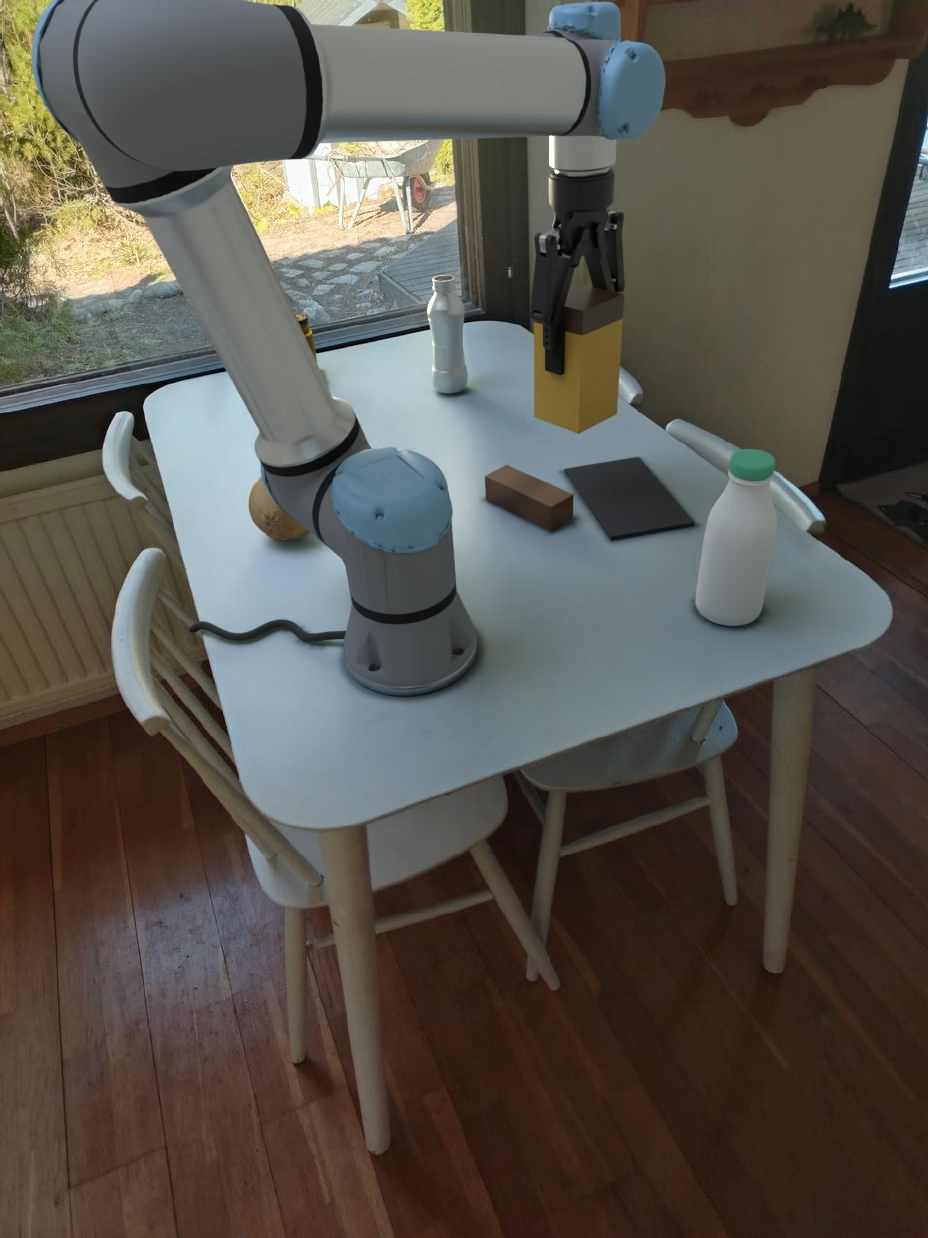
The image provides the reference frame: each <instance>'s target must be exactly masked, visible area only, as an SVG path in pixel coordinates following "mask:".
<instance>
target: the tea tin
mask: <svg viewBox="0 0 928 1238" xmlns="http://www.w3.org/2000/svg"><path fill="white" fill-rule="evenodd" d="M624 306H625V294H624V293H619V292H618V293H617V292H613V291H609V290H605V289H601V288H596V287H593V286H591V285H587V284H584V283H579V282H573V283H571V284H570V288H569V291H568V295H567V299H566V302H565V306H564V310H563V314H562V317H561V321H560V322H564V323H565V370H564V374H563V375H558V374H555V373H552V372H548V371H545V348H544V347H543V325H542V323H541V322H538V321H534V320H533V417H534V418H535V419H538V420H540V421H543V422H546V423H548V424H551V425H554V426H556V427H559V428H561V429H565V430H568V432H569V431H570V432H572V433H575V434H578V435H579V434H581V433H583V432H585V431H587V430H589V429H591V428H593V427H595V426H597V425H598V424H601V423H603V422H605V421H607V420H609V419H610V418H612V417H615V416H616V415H618V404H619V402H618V401H619V390H620V389H619V388H620V373H621V372H620V371H621V356H622V355H621V354H622V341H623V340H622V339H623V327H624V325H623V324H624V308H625V307H624ZM552 313H553V310H552Z"/></svg>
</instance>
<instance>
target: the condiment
mask: <svg viewBox="0 0 928 1238" xmlns="http://www.w3.org/2000/svg"><path fill="white" fill-rule="evenodd" d="M294 314H295V316H296V318H297V320H298V323H299V325H300V327H301V329H302V331H303V334H304V336H305V338H306V340H307V342H308V345H309V347H310V349H311V351H312V353H313V356H314V358H315V360H316V362H317V363H318V360H317V352H316V347H315V341H314V333H313V330H311V328H310V323H309V318H308V316H307V315H306V314H305V313H304V314H303V313H294ZM320 371H321V372H322V370H321V369H320Z"/></svg>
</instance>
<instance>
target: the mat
mask: <svg viewBox="0 0 928 1238" xmlns="http://www.w3.org/2000/svg"><path fill="white" fill-rule="evenodd" d="M563 470H564V472H563V473H564V474H565V475H566V477H567V478H568V480H569V481H570V483H571V484H572V486H573V487H574V489H575V490H576V492H577V493H578V494H579V496H580V498H581V499H582V501H583V502H584V503H585V505H586V506H587V508H588V509H589V511H590V512H591V514H592V515H593V517H594V518H595V520H596V521H597V523H598V524H599V525H600V527H601V528H602V530H603V532H604V533H605V534H606V536H607V537H608V539H609V541H616V540H621V539H626V538H632V537H633V538H634V537H637V536H643V535H649V534H654V533H660V532H661V533H662V532H666V531H671V530H676V529H684V528H688V527H694V526H695V521H694V519H692V518H691V517H690V515H689V514H688V513H687V512H686V510H685V509H684V508H683V507H682V506H681V505H680V503H679V502H678V501H677V500H676V499H675V498H674V496H673V495H672V494H671V493H670V492H669V491H668V489H667V488H666V487H665V486H664V484H662V482H661V481H660V480H659V479H658V477H657V476H655V474H654V473H653V472H652V471H651V470H650V468H649V467H648V466H647V464H645V463H644V461H643V460H642V459H641V458H640V456H635V457H629V458H622V459H617V460H616V459H615V460H610V461H605V462H598V463H597V462H596V463H592V464H586V465H579V466H573V467H568V468H567V467H566V468H564V469H563Z"/></svg>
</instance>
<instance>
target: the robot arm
mask: <svg viewBox="0 0 928 1238" xmlns="http://www.w3.org/2000/svg"><path fill="white" fill-rule="evenodd" d="M621 18H622V17H621V11H620V8H619V7H618V6H617V4H616V3H615V2H611V1H588V2H587V1H586V2H585V1H584V2H573V3H563V4H560V5H556V6H554V7H552V9H551V10H550V11H549V18H548V19H549V21H548V27H547V30H546V31H544V32H540V33H533V34H523V35H520V34H519V35H518V34H500V33H482V32H465V31H449V30H448V31H446V30H429V29H428V30H427V29H411V28H409V29H408V28H390V27H373V26H355V25H337V24H318V23H311V21H310V20H309V18H308V17H307V15H305V14H304V12H302V11H301V9H299V8H298V7H296V6H293V5H289V4H288V5H287V4H272V3H263V2H255V1H251V0H52V1H51V2H50V3H49V4H48V5H47V7H46V8H45V9H44V11H42V14H41V15H40V17H39V19H38V21H37V24H36V26H35V30H34V32H33V37H32V38H33V39H32V44H31V68H32V73H33V78H34V83H35V86H36V89H37V91H38V94H39V96H40V98H41V100H42V102H43V104H44V106H45V108H46V109H47V111H48V113H49V115H51V117H52V119H53V120H54V121H55V122H56V123H57V124H58V125H59V127H60V129H61V130H63V131H64V132H65V133H66V134H67V135H68V136H69V137H70V138H71V139H73V140H74V141H75V142H77V143H78V144H80V145H81V148H82V149H83V151H84V153H85V155H86V156H87V159H88V160H89V162H90V163H91V166H92V167H93V169H94V171H95V172H96V174H97V176H98V178H99V180H100V181H101V183H102V185H103V186H104V188H105V191H106V192H107V193H108V194H109V197H110V198H111V200H112V202H113V204H114V205H115V206H117V207H120V208H122V209H125V210H127V211H129V212H132V213H134V214H135V213H136V214H138V216H140V217H142V219H143V222H144V223H145V225H146V228H147V229H148V230H149V232H150V234H151V236H152V238H153V240H154V241H155V243H156V246H157V247H158V249H159V250H160V252H161V254H162V256H163V258H164V260H165V261H166V264H167V265H168V267H169V269H170V270H171V273H172V274H173V276H174V278H175V280H176V282H177V283H178V285H179V287H180V289H181V291H182V292H183V295H184V296H185V298H186V300H187V302H188V303H189V305H190V307H191V309H192V310H193V312H194V314H195V316H196V318H197V320H198V322H199V323H200V325H201V327H202V329H203V331H204V333H205V335H206V336H207V338H208V340H209V342H210V344H211V346H212V347H213V349H214V351H215V352H216V355H217V356H218V358H219V360H220V361H221V364H222V365H223V367H224V369H225V371H226V372H227V375H228V377H229V378H230V380H231V382H232V384H233V386H234V387H235V389H236V391H237V393H238V394H239V396H240V398H241V400H242V402H243V404H244V406H245V408H246V409H247V411H248V413H249V415H250V417H251V419H252V420H253V422H254V424H255V425H256V428H257V429H258V433H257V436H256V438H255V440H254V453H255V455H256V458H257V459H258V460H259V462H260V477H261V476H262V480H263V483H264V485H265V488H266V490H267V492H268V493H269V495H270V496H271V498H272V500H273V501H274V502H275V504H276V505H277V506H278V507H279V508H280V509H281V510H282V511H283V512H284V513H285V514H286V515H288V516H289V517H291V518H292V519H294V520H296V521H297V522H299V523H300V524H301V525H302V526H303V527H305V528H306V529H307V530H308V531H309V533H310V534H312V535H313V536H314V537H315V538H316V539H318V540H319V541H320V542H321V543H323V544H324V546H326V547H327V548H328V549H329V550H331V551H332V552H333V553H334V554H335V555H336V556H338V557H339V558H340V559H341V561H342V562H343V565H344V567H345V571H346V578H347V583H348V589H349V595H350V600H351V601H350V602H351V607H350V611H349V616H348V620H347V624H346V629H345V630H332V631H331V630H330V631H322V632H314V633H311V632H306V631H305V630H303V628H301V627H300V625H299V624H297V623H296V622H294V621H292V620H289V619H284V618H281V619H280V618H279V619H274V620H270V621H268V622H265V623H262V624H261V625H259V626H257V627H256V628H253V629H251V630H249V631H245V632H233V631H229V630H226V629H223V628H221V627H219V626H217V625H216V624H213V623H211V622H209V621H205V620H200V621H196V622H194V623H193V624H191V626H190V627H189V628H188V632H189V633H192V634H194V633H197V632H199V631H200V630H204V631H208V632H210V633H211V634H214V635H215V636H217V637H220V638H222V639H224V640H226V641H227V640H228V641H232V642H245V641H246V642H247V641H250V640H253V639H255V638H258V637H260V636H261V635H263V634H266V633H267V632H269V631H272V630H275V629H279V628H281V629H282V628H283V629H288V630H290V631H291V632H292V633H293V634H294V635H295V636H296V637H297V638H299V639H301V640H302V641H305V642H308V643H309V642H310V643H317V642H324V641H336V640H343V654H344V659H345V665H346V668H347V670H348V672H349V674H350V675H351V676H352V678H353V679H355V681H356V682H358V683H359V684H360V685H362V686H364V687H366V688H368V690H371V691H374V692H377V693H381V694H385V695H391V696H418V695H422V694H423V695H424V694H427V693H431V692H434V691H435V692H436V691H438V690H440V689H443V688H444V687H447V686H449V685H450V684H453V683H454V682H456V681H458V679H460V678H461V677H462V676H464V675H465V674H466V672H468V670H469V669H470V668H471V667H472V665H473V663H474V661H475V659H476V656H477V651H478V643H477V642H478V641H477V633H476V630H475V625H474V623H473V621H472V618H471V617H470V615H469V613H468V611H467V608H466V606H465V605H464V603H463V601H462V599H461V595H460V593H459V592H458V591H457V576H456V575H457V574H456V563H455V548H454V536H453V535H454V532H453V520H452V518H453V504H452V500H451V497H450V492H449V491H450V490H449V486H448V482H447V478H446V476H445V475H444V473H443V471H442V469H441V468H440V467H439V466H438V465H437V464H436V463H435V462H434V461H433V460H432V459H430V458H429V457H428V456H425V455H424V454H422V453H420V452H418V451H414V450H412V449H407V448H404V449H403V450H397V448H396V447H393V446H382V447H374V448H373V447H372V446H371V445H370V443H369V441H368V439H367V437H366V435H365V432H364V430H363V428H362V425H361V424H360V421H359V419H358V416H357V414H356V412H355V410H354V408H353V407H352V405H351V404H350V403H349V402H348V401H346V400H344V399H342V398H339V397H335V396H333V395H332V393H331V391H330V388H329V387H328V384H327V382H326V380H325V378H324V375H323V373H322V370H321V369H320V366H319V364H318V361H317V362H316V360H315V358H314V356H313V353H312V351H311V349H310V347H309V345H308V342H307V340H306V338H305V336H304V334H303V331H302V329H301V327H300V325H299V323H298V320H297V318H296V316H295V314H296V313H295V311H294V310H293V307H292V305H291V303H290V301H289V299H288V297H287V294H286V291H285V290H284V287H283V285H282V282H281V281H280V279H279V276H278V275H277V272H276V270H275V268H274V265H273V264H272V261H271V258H270V257H269V255H268V253H267V250H266V247H265V246H264V244H263V241H262V239H261V237H260V235H259V233H258V231H257V228H256V226H255V224H254V222H253V219H252V218H251V215H250V213H249V210H248V209H247V206H246V205H245V202H244V200H243V198H242V195H241V193H240V191H239V189H238V187H237V185H236V182H235V180H234V178H233V171H234V166H239V165H248V164H253V163H264V162H265V163H266V162H274V161H275V162H276V161H288V160H290V161H291V160H292V161H293V160H303V159H304V160H305V159H309V158H310V157H311V156H312V155H313V154H314V153H315V152H316V150H317V149H318V147H319V145H320V144H339V143H340V144H341V143H342V144H343V143H344V144H345V143H371V142H400V141H401V142H403V141H404V142H407V141H435V140H436V141H437V140H440V141H441V140H466V139H467V140H468V139H471V140H472V139H473V140H474V139H499V138H503V139H504V138H531V137H532V138H534V137H549V151H548V152H549V154H548V155H549V157H548V158H549V159H548V160H549V161H548V162H549V166H550V168H552V169H553V170H551V172H550V174H549V175H548V204H549V206H550V208H551V209H552V211H553V214H554V218H553V222H552V225H551V229H550V230H548V231H547V232H545V233H542V232H537V233H535V235H534V238H533V242H534V249H535V260H534V270H533V280H532V288H531V289H532V290H531V299H530V309H529V319H530V320H531V321H533V322H534V321H538V322H541V323H542V325H543V347H544V348H545V371H548V372H552V373H555V374H558V375H563V374H564V370H565V323H564V322H560V321H561V317H562V314H563V310H564V306H565V302H566V299H567V295H568V291H569V288H570V284H572V280H573V278H574V277H573V276H574V273H575V269H576V268H578V267H579V266H580V263H581V260H582V257H584V260H585V264H586V267H587V271H588V275H589V278H590V282H591V285H592V287H596V288H601V289H605V290H609V291H613V292H617V293H621V294H623V292H624V291H625V288H626V283H625V268H624V267H625V266H624V246H623V227H624V221H625V213H624V212H622V211H617V210H610V209H608V208H609V207H611V206H612V205H613V204H614V200H615V198H614V197H615V176H616V173H615V171H614V169H612V167H613V166H614V165H615V163H616V162H617V143H618V142H617V141H618V140H633V139H637V138H639V137H641V136H642V135H644V134H645V133H646V132H648V130H650V128H651V126H653V124H654V123H655V121H656V120H657V118H658V116H659V114H660V111H661V110H662V107H663V103H664V95H665V89H666V71H665V66H664V63H663V60H662V58H661V56H660V55H659V53H658V51H657V50H656V49H655V48H653V47H652V46H651V45H650V44H647V43H644V42H639V41H631V40H630V39H625V38H623V39H622V23H621ZM563 255H564V256H563ZM552 310H553V313H552ZM320 370H321V371H320Z"/></svg>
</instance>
